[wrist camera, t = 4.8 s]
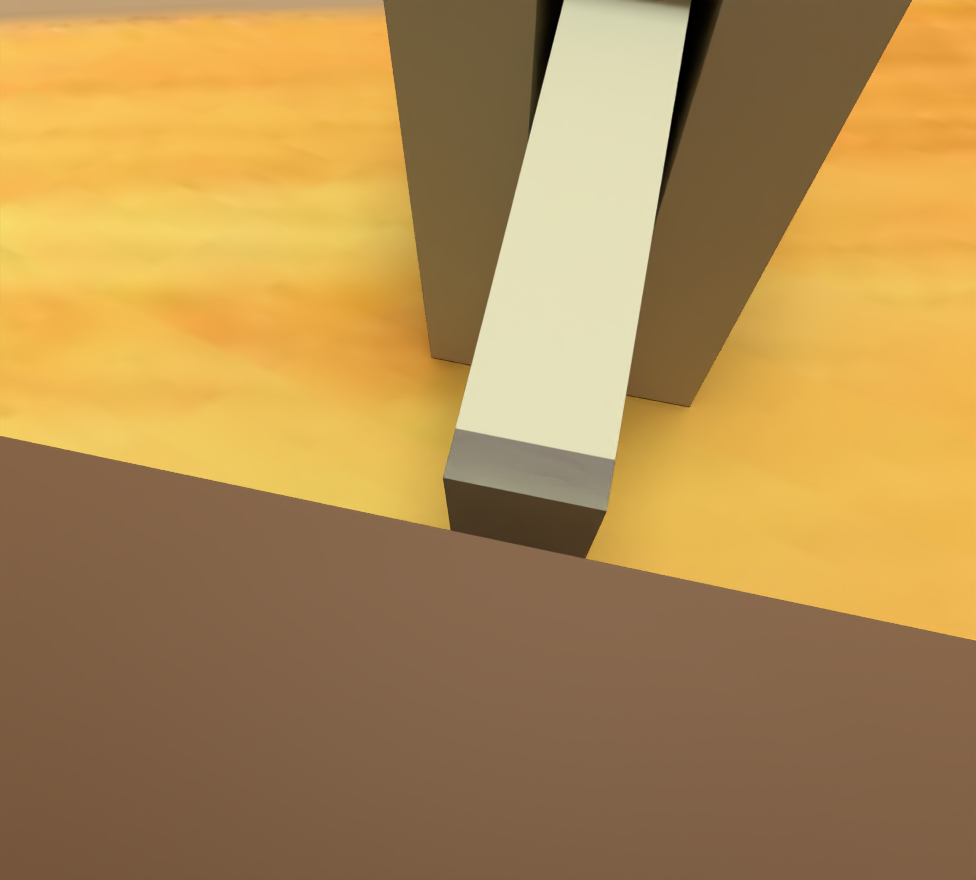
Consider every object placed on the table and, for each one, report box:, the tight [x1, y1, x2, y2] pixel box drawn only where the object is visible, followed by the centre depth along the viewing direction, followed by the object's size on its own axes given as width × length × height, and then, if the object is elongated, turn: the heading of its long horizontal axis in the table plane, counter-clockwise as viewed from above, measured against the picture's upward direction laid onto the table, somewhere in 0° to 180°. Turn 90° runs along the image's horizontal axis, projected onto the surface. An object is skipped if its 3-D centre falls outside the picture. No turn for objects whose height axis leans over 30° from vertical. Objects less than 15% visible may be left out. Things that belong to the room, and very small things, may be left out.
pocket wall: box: [384, 0, 912, 407], centre depth 15 cm, size 9×6×11 cm
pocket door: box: [443, 0, 691, 559], centre depth 13 cm, size 8×2×9 cm, turn 168°
